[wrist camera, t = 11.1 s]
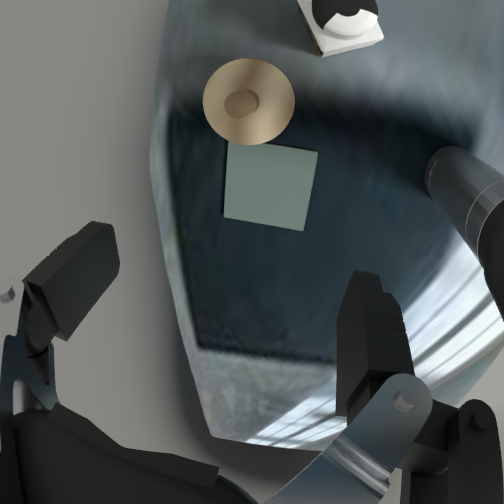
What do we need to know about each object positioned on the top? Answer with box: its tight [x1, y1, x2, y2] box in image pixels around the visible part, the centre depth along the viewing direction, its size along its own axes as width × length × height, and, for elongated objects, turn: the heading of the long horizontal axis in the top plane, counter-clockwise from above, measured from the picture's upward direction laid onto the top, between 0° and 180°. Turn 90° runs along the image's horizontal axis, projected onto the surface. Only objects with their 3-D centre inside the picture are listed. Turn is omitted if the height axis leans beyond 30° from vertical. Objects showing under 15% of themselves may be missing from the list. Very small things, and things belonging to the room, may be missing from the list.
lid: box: [203, 58, 295, 145], centre depth 29 cm, size 10×10×6 cm
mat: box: [224, 141, 318, 231], centre depth 41 cm, size 12×12×1 cm
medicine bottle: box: [297, 0, 384, 57], centre depth 23 cm, size 7×7×12 cm
